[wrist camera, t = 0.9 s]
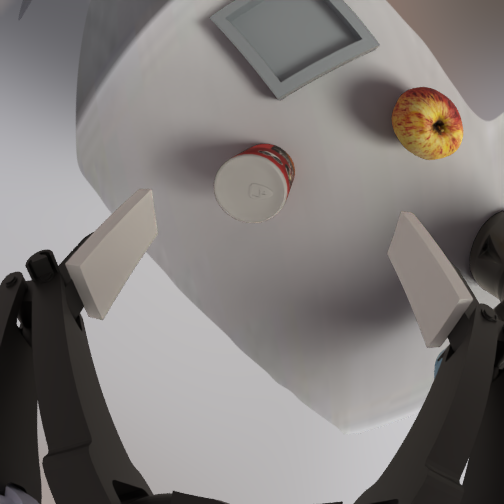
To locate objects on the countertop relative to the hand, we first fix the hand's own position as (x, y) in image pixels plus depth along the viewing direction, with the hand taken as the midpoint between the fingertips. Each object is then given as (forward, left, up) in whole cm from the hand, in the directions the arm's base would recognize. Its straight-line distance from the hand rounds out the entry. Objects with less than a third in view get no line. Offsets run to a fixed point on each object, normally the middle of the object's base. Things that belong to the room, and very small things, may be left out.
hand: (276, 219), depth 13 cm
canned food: (0, +6, -25) cm, 26 cm away
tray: (+15, -9, -25) cm, 31 cm away
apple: (-4, -16, -25) cm, 30 cm away
